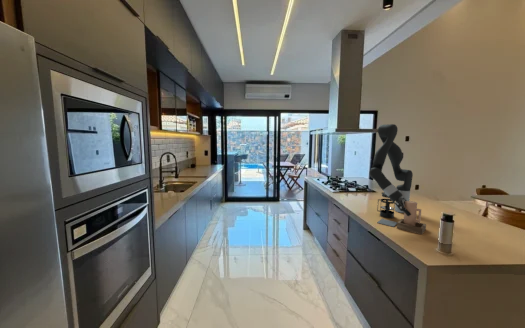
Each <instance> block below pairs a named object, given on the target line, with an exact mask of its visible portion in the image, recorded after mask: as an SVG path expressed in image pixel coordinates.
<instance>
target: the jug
mask: <svg viewBox="0 0 525 328" xmlns="http://www.w3.org/2000/svg"><path fill="white" fill-rule="evenodd" d="M405 205H406V206H405V207H406V210H408V211H409V212H410V213H411V215H410V216H407V215H406V214H405V212H404V213H403V219H404V221H403V224H407V225H411V226H415V224H416V222H418V223H421V220H422V219H421V217H422V209H421V208H418V202H417V201H411V200H409V201H405ZM417 213H418V218H417Z"/></svg>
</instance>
